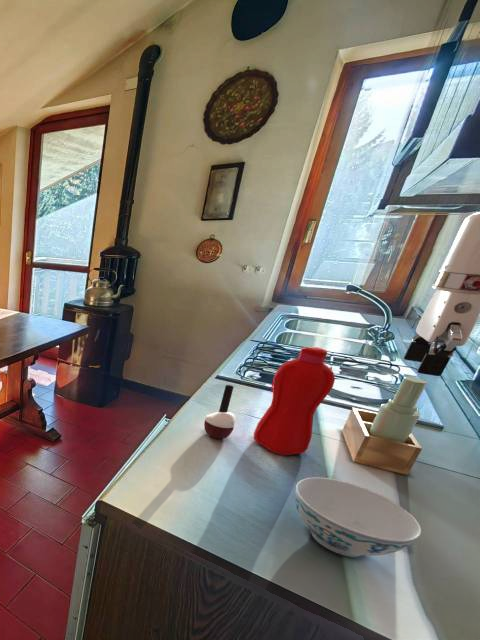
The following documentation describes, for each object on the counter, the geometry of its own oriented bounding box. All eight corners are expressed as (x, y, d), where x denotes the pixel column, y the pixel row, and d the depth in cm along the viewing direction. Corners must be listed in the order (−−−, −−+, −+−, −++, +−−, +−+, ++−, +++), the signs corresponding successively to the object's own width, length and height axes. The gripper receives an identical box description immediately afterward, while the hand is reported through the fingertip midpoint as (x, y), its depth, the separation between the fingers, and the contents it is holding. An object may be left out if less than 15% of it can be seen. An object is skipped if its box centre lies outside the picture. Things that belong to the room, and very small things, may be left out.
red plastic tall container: (270, 431, 101) (305, 338, 91) (312, 455, 91) (355, 353, 81) (239, 434, 99) (271, 340, 89) (278, 458, 89) (318, 356, 79)
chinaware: (426, 575, 60) (451, 537, 57) (337, 581, 59) (357, 543, 56) (335, 508, 74) (351, 475, 71) (261, 512, 73) (274, 479, 70)
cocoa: (219, 445, 94) (233, 401, 89) (194, 434, 99) (206, 391, 94) (239, 435, 99) (253, 392, 94) (214, 424, 104) (226, 383, 99)
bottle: (391, 454, 90) (431, 378, 82) (398, 466, 85) (441, 388, 78) (356, 446, 93) (392, 372, 85) (361, 457, 88) (399, 381, 81)
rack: (388, 441, 96) (401, 417, 94) (407, 475, 84) (422, 448, 81) (341, 431, 101) (352, 407, 98) (353, 461, 88) (365, 435, 86)
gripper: (517, 291, 65) (463, 385, 72) (474, 279, 78) (432, 359, 85) (452, 286, 69) (406, 375, 76) (421, 276, 82) (385, 352, 89)
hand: (420, 367), depth 80 cm, fingers open, 9 cm apart
